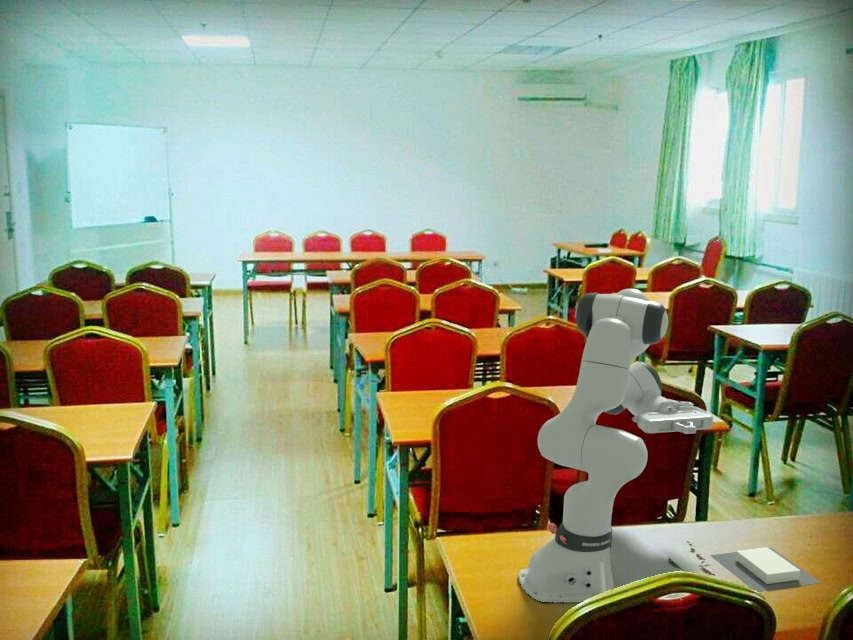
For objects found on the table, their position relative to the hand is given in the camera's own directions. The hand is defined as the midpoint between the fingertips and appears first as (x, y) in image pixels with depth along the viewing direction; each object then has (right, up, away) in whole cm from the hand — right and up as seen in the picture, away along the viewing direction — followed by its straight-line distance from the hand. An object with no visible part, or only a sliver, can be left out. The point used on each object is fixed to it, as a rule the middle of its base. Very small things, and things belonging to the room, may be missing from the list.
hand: (691, 430), depth 204 cm
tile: (+13, -30, -7) cm, 33 cm away
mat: (+14, -33, -11) cm, 37 cm away
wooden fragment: (-3, -32, -5) cm, 33 cm away
